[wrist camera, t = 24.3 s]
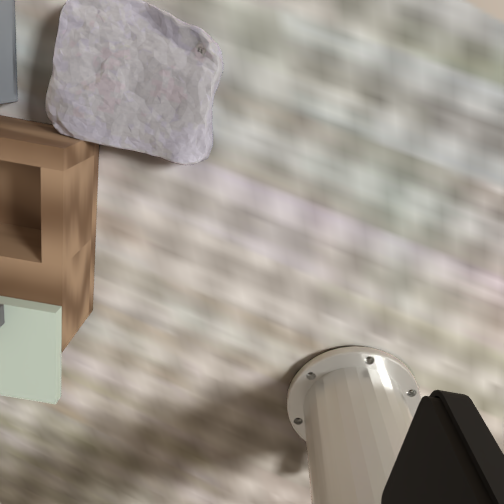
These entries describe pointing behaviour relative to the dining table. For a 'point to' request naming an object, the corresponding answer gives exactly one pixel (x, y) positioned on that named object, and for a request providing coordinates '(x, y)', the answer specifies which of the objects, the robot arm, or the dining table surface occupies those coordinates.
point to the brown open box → (48, 219)
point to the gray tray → (8, 52)
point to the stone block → (134, 79)
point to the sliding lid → (30, 350)
